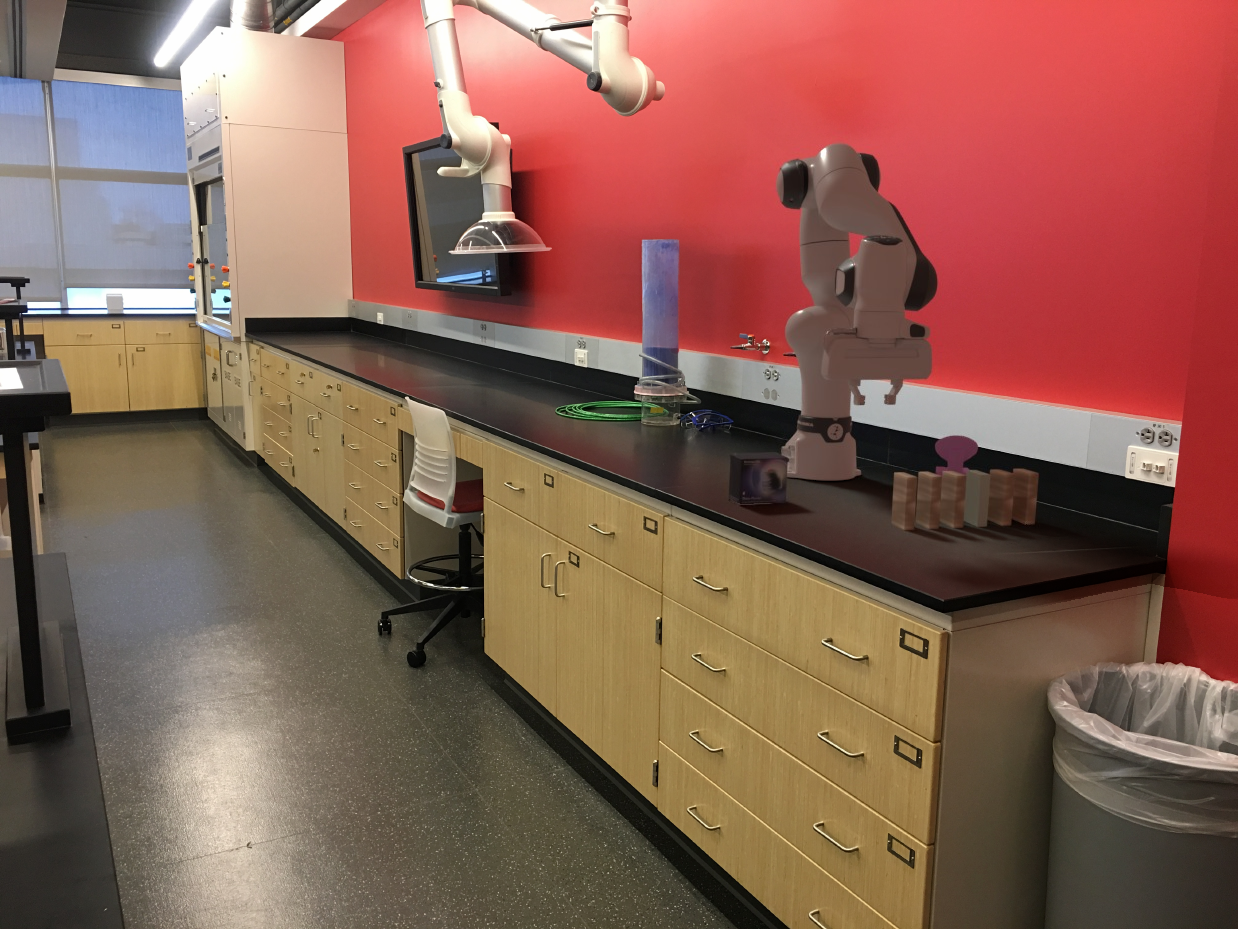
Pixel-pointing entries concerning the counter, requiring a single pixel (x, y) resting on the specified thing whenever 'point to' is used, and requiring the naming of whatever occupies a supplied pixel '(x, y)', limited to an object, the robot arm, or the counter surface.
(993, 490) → the domino
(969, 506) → the domino
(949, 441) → the toy chair
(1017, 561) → the counter surface
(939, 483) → the domino
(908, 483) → the domino
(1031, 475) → the domino
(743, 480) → the small box
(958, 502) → the domino
